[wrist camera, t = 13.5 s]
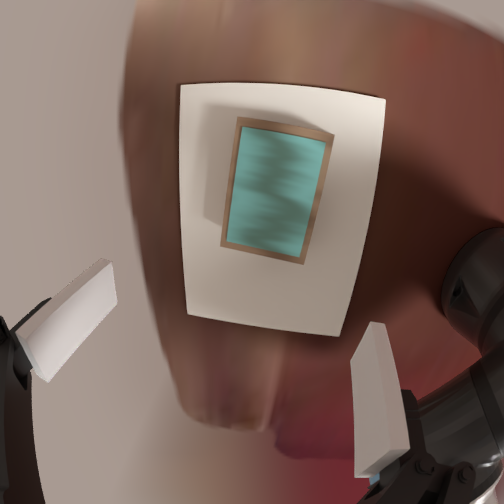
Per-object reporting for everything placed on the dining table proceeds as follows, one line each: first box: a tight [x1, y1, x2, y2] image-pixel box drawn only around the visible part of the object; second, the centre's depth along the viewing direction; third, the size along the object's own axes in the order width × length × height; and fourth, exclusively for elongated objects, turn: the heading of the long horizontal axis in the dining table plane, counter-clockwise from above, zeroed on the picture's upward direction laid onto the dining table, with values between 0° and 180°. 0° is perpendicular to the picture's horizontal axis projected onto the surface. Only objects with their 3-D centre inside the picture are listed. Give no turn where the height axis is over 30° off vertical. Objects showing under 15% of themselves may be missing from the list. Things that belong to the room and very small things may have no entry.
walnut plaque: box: [220, 117, 335, 265], centre depth 25 cm, size 8×4×12 cm
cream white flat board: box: [179, 83, 386, 337], centre depth 29 cm, size 28×20×1 cm
